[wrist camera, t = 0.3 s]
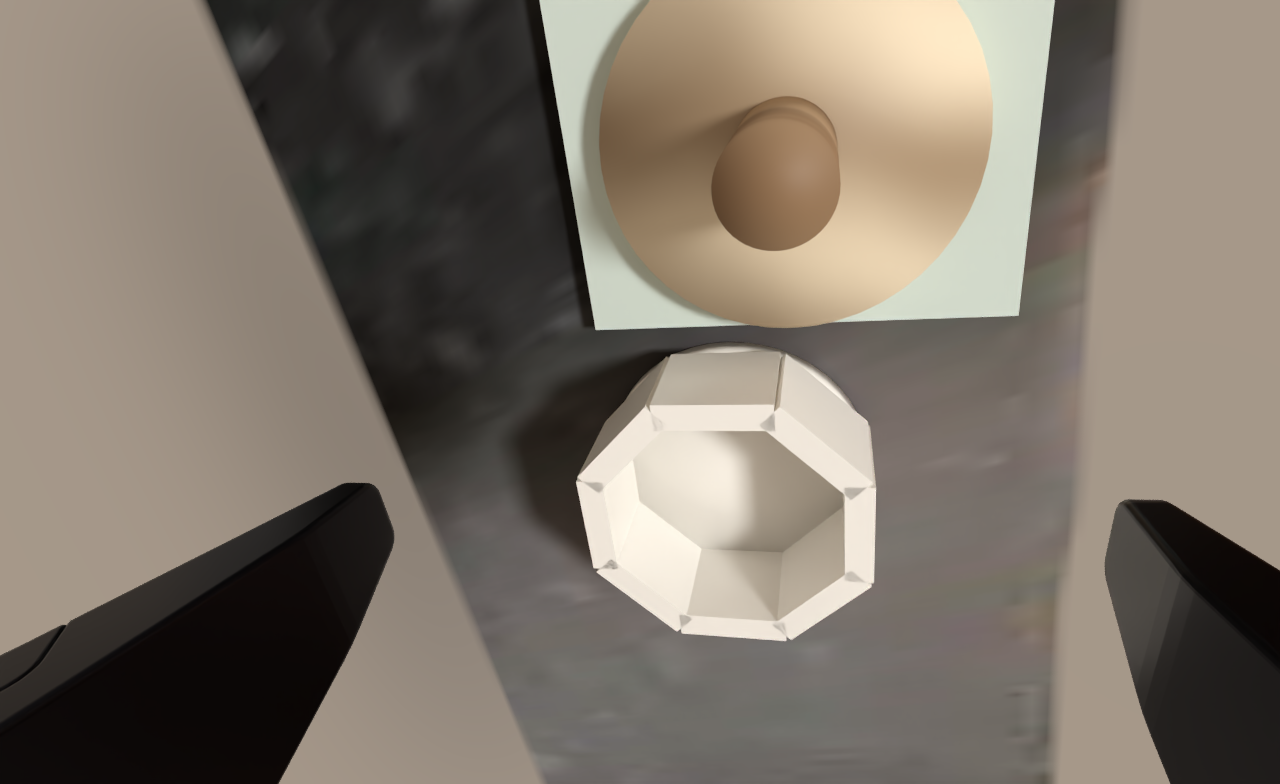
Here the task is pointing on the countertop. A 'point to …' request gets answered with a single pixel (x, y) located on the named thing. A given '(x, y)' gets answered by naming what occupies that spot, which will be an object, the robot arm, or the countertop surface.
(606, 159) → the lid
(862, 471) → the white octagonal pot
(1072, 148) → the countertop surface
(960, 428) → the countertop surface
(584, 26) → the mat
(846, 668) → the countertop surface
